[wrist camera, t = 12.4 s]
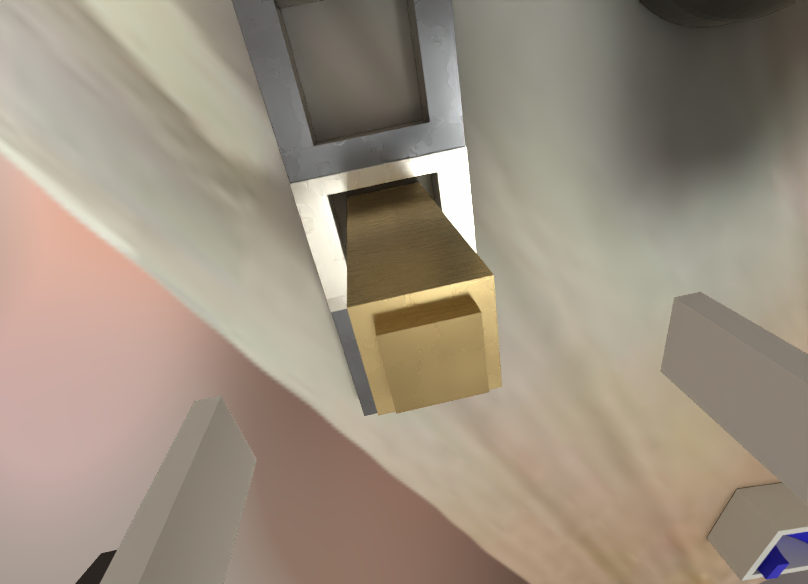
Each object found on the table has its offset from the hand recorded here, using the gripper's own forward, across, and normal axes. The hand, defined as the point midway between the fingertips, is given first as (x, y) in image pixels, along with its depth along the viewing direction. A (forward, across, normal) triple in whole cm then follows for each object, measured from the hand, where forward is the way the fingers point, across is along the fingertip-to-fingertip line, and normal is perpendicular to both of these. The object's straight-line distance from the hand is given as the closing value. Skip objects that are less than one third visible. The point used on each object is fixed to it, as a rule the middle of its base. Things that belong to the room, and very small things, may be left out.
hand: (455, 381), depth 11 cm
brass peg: (+16, -1, 0) cm, 16 cm away
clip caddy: (+16, +42, -48) cm, 65 cm away
